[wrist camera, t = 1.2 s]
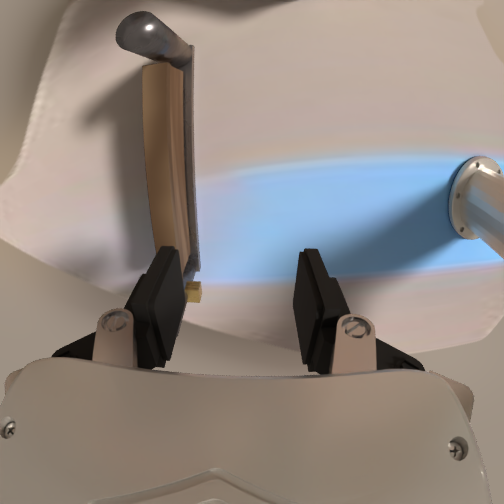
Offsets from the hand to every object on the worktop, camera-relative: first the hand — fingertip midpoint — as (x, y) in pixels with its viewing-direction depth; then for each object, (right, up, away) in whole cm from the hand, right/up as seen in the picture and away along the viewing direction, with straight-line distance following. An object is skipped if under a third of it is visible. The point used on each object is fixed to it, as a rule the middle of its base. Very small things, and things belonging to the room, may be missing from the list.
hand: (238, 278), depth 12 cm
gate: (-7, +10, +15) cm, 19 cm away
